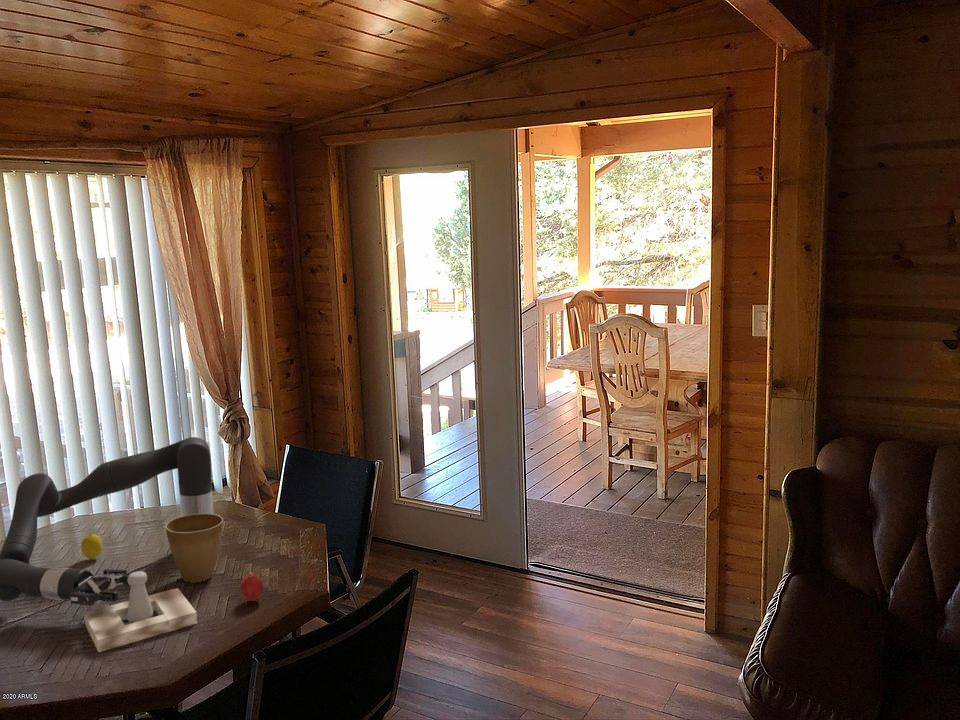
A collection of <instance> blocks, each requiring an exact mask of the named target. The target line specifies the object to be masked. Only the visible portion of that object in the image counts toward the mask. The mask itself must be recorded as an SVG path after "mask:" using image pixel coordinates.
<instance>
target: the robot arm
mask: <svg viewBox="0 0 960 720" xmlns="http://www.w3.org/2000/svg"><path fill="white" fill-rule="evenodd" d="M211 459H212V458H211V451H210V445H209V444H208V443H207V441H205V439H202V438H201V437H194V436H192V437H187V438H184V439H182V440H179V441H177V442H174V443H171V444H169V445H167V446H163V447H161V448H158V449H154V450H149V451H145V452H140V453H137V454H132V455H128V456H124V457H120V458H117V459H112V460H110V461H106V462H103V463H102V464H100V465H98V466H97V467H95V469H93V470H92V471H91V472H90V473H88V475H87V476H86V477H85V478H84V479H83V480H82V481H80V482H79V483H77V484H75V485H73V486H70V487H67V488H66V489H62V490H58V489H57V487H56V485H55V482H54V480H53V479H52V478H51V477H50V475H48V474H46V473H40V472H39V473H34V474H31V475H29V476H27V477H24V479H22V481H21V482H20V483H19V484H18V486H17V489H16V493H15V494H16V495H15V502H14V506H13V512H12V515H11V516H12V517H11V520H10V521H11V522H10V524H9V525H10V526H9V529H8V532H7V535H6V537H5V540H4V543H3V545H2V548H1V549H0V601H3V602H11V601H14V600H15V599H17V598H19V597H20V596H21V595H23V594H24V595H25V596H28V597H33V598H41V599H42V598H44V599H50V600H56V601H70V604H72V605H73V604H74V605H83V606H94V605H95V603H100V602H102V601H104V602H116V601H118V600H119V599H118V598H119V597H118V595H119V594H118V591H115V590H113V591H112V590H110V589H115V588H116V587H117V586H122V585H124V586H130V585H129V584H128V576H129V575H130V574H128V571H127V569H113V568H112V569H111V568H110V569H108V568H106V569H103V571H102V572H103V573H102V574H96V575H93V574H92V572H91V571H90V570H89V569H84V568H70V567H69V568H68V567H54V568H53V567H39V566H38V567H37V566H36V565H33V564H30V560H31V557H32V554H33V553H34V548H35V545H36V542H37V537H38V518H42V517H46V516H49V515H52V514H55V513H57V512H60V511H63V510H66V509H68V508H71V507H73V506H76V505H78V504H82V503H84V502H87V501H90V500H93V499H97V498H100V497H103V496H106V495H110V494H114V493H118V492H121V491H125V490H129V489H132V488H135V487H137V486H139V485H142V484H144V483H146V482H148V481H149V480H151V479H153V478H155V477H157V476H159V475H161V474H163V473H166V472H169V471H173V470H176V469H177V476H178V477H177V478H178V489H179V504H180V506H179V507H180V508H179V509H180V517H182V516H186V515H192V514H215V513H214V502H213V501H214V500H213V483H212V482H213V479H212V477H213V476H212V461H211ZM109 582H110V583H109ZM87 599H88V600H87Z"/></svg>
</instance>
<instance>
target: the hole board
mask: <svg viewBox="0 0 960 720" xmlns="http://www.w3.org/2000/svg"><path fill="white" fill-rule="evenodd" d="M148 596H149V600H150V603H151V606H152V609H153V613H154V612H156V614H157V615H156V616H152V618H149V619H145V620H142V621H138V622H135V623H131V624H130V623H127V624H125V623H124V622H123V621H126V620H128V619H127V614H128V605H129V600H126V601H123V602H119V603H115V604H112V605H108V606H103V607H99V608H96V609H92V610H89V611H88V610H87V611H84V612H83V614H84V615H83V617H84V625H85V628H86V629H87V631H88V633H89V635H90V637H91V640H92V642H93V644H94V646H95V648H96V650H97V652H98V653H101V652H104V651H108V650H111V649H115V648H118V647H121V646H125V645H129V644H131V643H135V642H139V641H142V640H145V639H149V638H152V637H156V636H160V635H163V634H166V633H169V632H173V631H176V630H180V629H182V628H186V627H190V626H192V625H197V624H198V614H197V610H196V609H195V608H194V607H193V606H192V604H191V603H190V602H189V601H188V599H187V598H186V597H185V596H184V594H183V592H182V591H181V590H180V589H179V588H178V587H177V588H173V589H170V590H164V591H162V592H161V591H160V592H157V593H154V594H150V595H149V594H148Z"/></svg>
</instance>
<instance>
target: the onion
mask: <svg viewBox="0 0 960 720" xmlns="http://www.w3.org/2000/svg"><path fill="white" fill-rule="evenodd" d="M264 587H265V586H264V583H263V581H262V578H261V577H259V576H258V575H257V574H254V573H253V572H249V574H248V575H247V576H246V577H245V578H244V579H243V580H242V581H241V584H240V588H239V589H240V590H239V591H240V594H241V596H242V597H243V598H244V599H245V600H247V601H249V602H250V601H254V602H255V601H257V600H258V599H260V597H261V596H262V594H263V592H264V591H265V588H264Z"/></svg>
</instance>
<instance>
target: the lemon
mask: <svg viewBox="0 0 960 720" xmlns="http://www.w3.org/2000/svg"><path fill="white" fill-rule="evenodd" d="M103 547H104V546H103V541H102V539H101V537H100V536H99V535H97V534H93V533H89V534H88V535H86V536H85V537H84V538H83V539H82V541H81V546H80V549H81V553H82V555H83V557H85V558H86V559H89V560H92V561H94V560H95V559H96V558H97V557H99V556H100V555H101V554H102V551H103Z"/></svg>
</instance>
